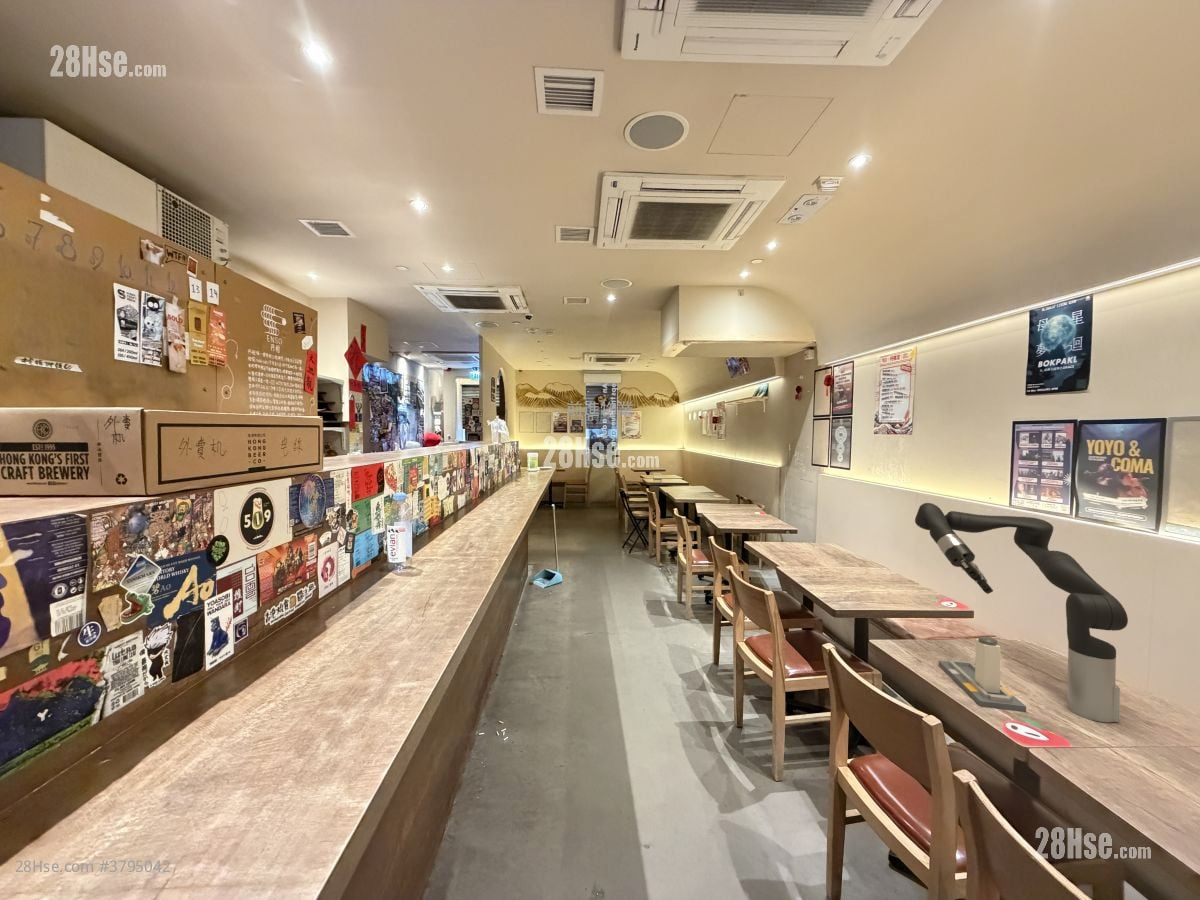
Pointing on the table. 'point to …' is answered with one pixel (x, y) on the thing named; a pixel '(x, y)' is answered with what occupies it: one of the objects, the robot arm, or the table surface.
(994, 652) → the slider knob
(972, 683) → the switch panel
